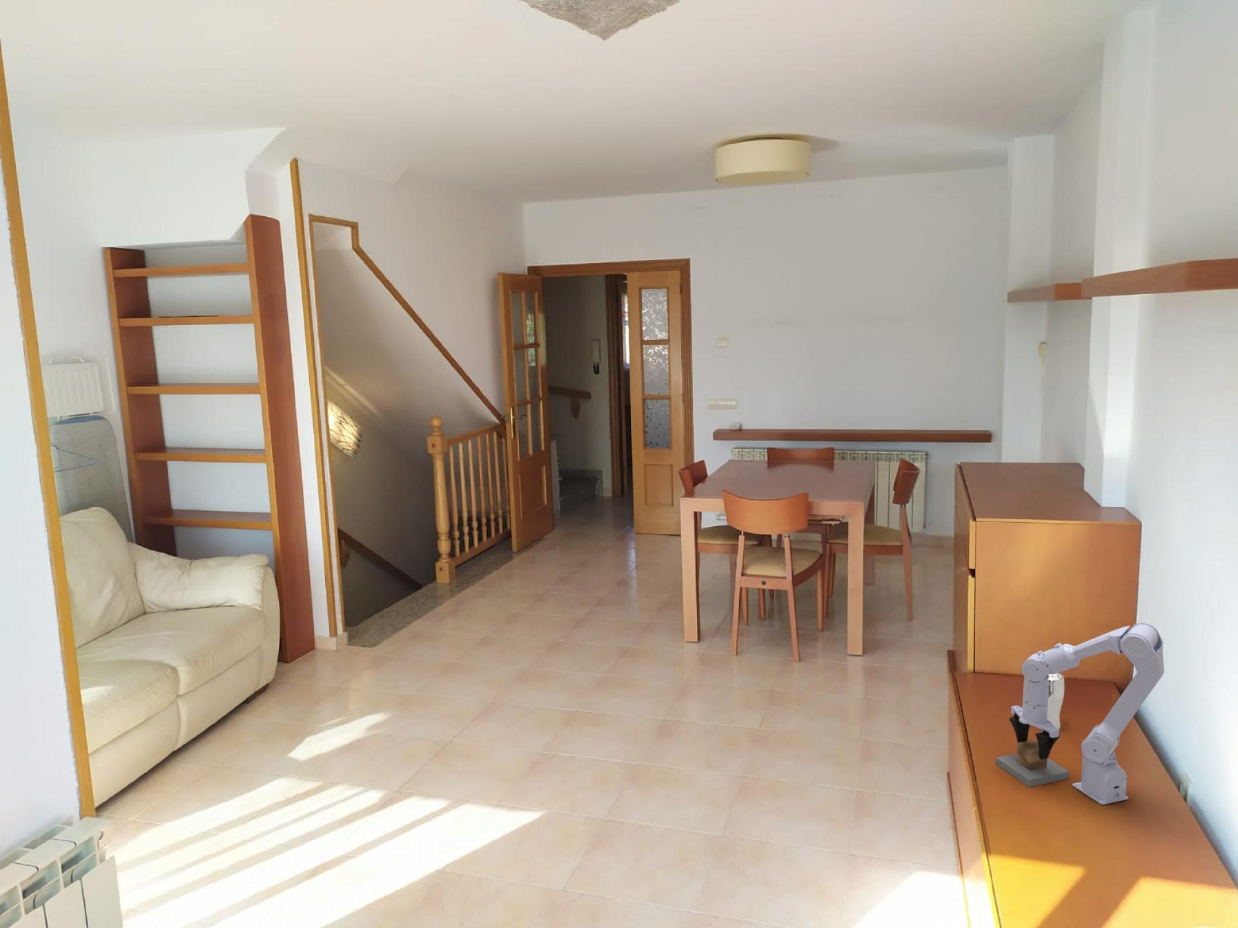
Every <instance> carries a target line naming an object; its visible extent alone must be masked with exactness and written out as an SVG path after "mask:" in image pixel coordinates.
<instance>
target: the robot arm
mask: <svg viewBox="0 0 1238 928" xmlns="http://www.w3.org/2000/svg"><path fill="white" fill-rule="evenodd" d="M1108 651H1111V652H1113V653H1115V654H1117V655H1120V656H1121V655H1122V654H1123V655H1124V657H1126V658H1127V659H1128V660H1129V661H1130V662H1131V664H1133V666H1134V668H1135V671H1136V674H1135V675H1134V677H1133V678H1132V679H1131V681H1130V682H1129V683H1128V685H1127V686H1126V688H1125V689H1124V691H1123V692H1122V694H1121V695H1120V696H1119V697H1118V699H1117V701H1116V702H1115V703H1114V705H1113V706H1112V708H1111V709H1110V710H1109V712H1108V713H1107V715H1106V716H1105V717H1104V719H1103V721H1102V722H1101V723H1099V724H1097V725H1095V726H1093V727H1092V729H1091V731H1090V733H1089V734H1088V735H1087V737H1086V738H1085V739H1083V740H1082V742H1081V744H1080V748H1081V754H1082V762H1081V763H1082V764H1081V765H1082V766H1081V780H1080V781H1079V782H1074V783H1072V784H1071V785H1072V786H1073V787H1074V788H1076V789H1077V790H1079V791H1080V792H1081V793H1083V794H1085V795H1086V796H1087V797H1089V798H1091V799H1092V800H1094V801H1096V803H1098V804H1100V805H1107V804H1111V803H1112V804H1113V803H1116V802H1120V801H1126V800H1128V799H1129V797H1128V795H1127V784H1128V783H1127V782H1128V774H1127V772H1126V770H1125V769H1123V768H1122V767H1121V766H1120V764H1119V763H1118V761H1117V760H1118V758H1117V755H1116V752H1115V749H1117V747H1118V746H1119V744H1120V737H1121V734H1122V733H1123V731H1124V730H1125V729H1126V728H1127V725H1128V724H1129V723H1130V721H1132V719H1133V717H1134V716H1135V715H1136V713H1137V712H1138V710H1139V709H1140V707H1141V706H1142V705H1143V704H1144V702H1145V701H1146V699H1147V698H1148V697H1149V695H1150V694H1151V692H1152V691H1153V689H1154V688H1155V687H1156V685H1157V683H1158V682H1159V681H1160V680H1161V678H1162V677H1163V675H1164V673H1165V663H1164V641H1163V638H1162V636H1161V635H1160V633H1159V630H1158V629H1157V628H1156V627H1155V626H1154V625H1152V624H1150V623H1147V622H1138V623H1134V624H1133V625H1132V626H1130V625H1126V626H1123V627H1120V628H1117V629H1114V630H1111V631H1109V632H1107V633H1104V634H1101V635H1099V636H1096V637H1094V638H1092V639H1089V640H1087V641H1083V642H1082V643H1079V644H1077V645H1071V644H1069V643H1065V644H1062V643H1061V642H1059V643H1056V644H1055V645H1054V647H1053V648H1051V649H1048V650H1045V651H1043V650H1039V651H1037V652H1036V653H1033V654H1031V655H1030V656H1028V657H1027V659H1026V660H1025V661H1023V663H1022V665H1021V673H1022V675H1023V676H1024V677H1023V678H1024V679H1023V691H1022V692H1023V693H1022V707H1021V706H1020V705H1013V706H1011V709H1010V713H1011V715H1013V716H1010V717H1009V722H1010V723H1011V725H1012V727H1013V730H1014V734H1015V736H1016V741H1017V743H1020V742H1025V741H1029V740H1028V738H1029V731H1030V727H1031V726H1032V727H1035V728H1038V729H1039V730H1041V732H1036V733H1035V737H1036V740H1037V741H1036V742H1038V746H1039V758H1040V759H1041V760H1043V759H1049V757H1050V753H1051V750H1052V749H1053V747H1054V745H1055V744H1056V742H1057V741H1058V740H1059V739H1060V729H1057V728H1056V727H1055V726H1054V725H1053V724H1052V723H1051V722H1050V721H1049V720H1048V718H1047V710H1048V691H1049V685H1048V684H1049V676H1048V674H1056V673H1062V672H1064V671H1067V670H1071V669H1073V668H1076V667H1078V666H1079V664H1080V662H1081V660H1082V659H1086V658H1089V657H1093V656H1096V655H1098V654H1103V653H1106V652H1108Z"/></svg>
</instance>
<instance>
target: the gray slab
mask: <svg viewBox="0 0 1238 928" xmlns="http://www.w3.org/2000/svg"><path fill="white" fill-rule="evenodd" d="M995 759H996V760H995V765H996V766H998V767H999V768H1001V769H1002V770H1004V771H1005V772H1006V773H1008V774H1009V775H1010V776H1013V777H1014V778H1016V779H1017V780H1018V781H1020V782H1021V783H1023V784H1024V785H1025V786H1027V787H1028V788H1031V787H1037V786H1041V785H1046V784H1050V783H1055V782H1060V781H1063V780H1065V781H1066V780H1068V779H1070V771H1069V770H1067V769H1066V768H1065V767H1063V766H1061V765H1059V764H1057V762H1055V761H1053V760H1051V758H1048V759H1047V767H1046V768H1040V769H1035V770H1029V769H1027V768H1026V767H1024V766H1023V765H1021V764H1020V763H1019V762H1017V752H1016V753H1013V754H1007V755H1002V756H998V757H996V758H995Z"/></svg>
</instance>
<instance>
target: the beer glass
mask: <svg viewBox="0 0 1238 928" xmlns="http://www.w3.org/2000/svg"><path fill="white" fill-rule="evenodd" d="M1048 676H1049V684H1048V685H1049V691H1048V710H1047V718H1048V720H1049V721H1050V722H1051V723H1052V724H1053V725H1054V726H1055V727H1056V728H1057V729H1059V730H1060V728H1061V721H1060V712H1061V709H1062V705H1063V701H1064V698H1065V697H1064V696H1065V676H1064V675H1063V674H1062V673H1061V672H1059V673H1056V674H1048Z"/></svg>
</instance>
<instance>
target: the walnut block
mask: <svg viewBox="0 0 1238 928" xmlns="http://www.w3.org/2000/svg"><path fill="white" fill-rule="evenodd" d="M1016 753H1017V762H1019V763H1020V764H1021V765H1023V766H1024V767H1026V768H1027V769H1029V770H1035V769H1040V768H1046V767H1047V759H1043V760H1041V759H1040V758H1039V746H1038V741H1036V740H1035V739H1031V740H1027V741H1025V742H1020V743H1018V742H1017V743H1016Z"/></svg>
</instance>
